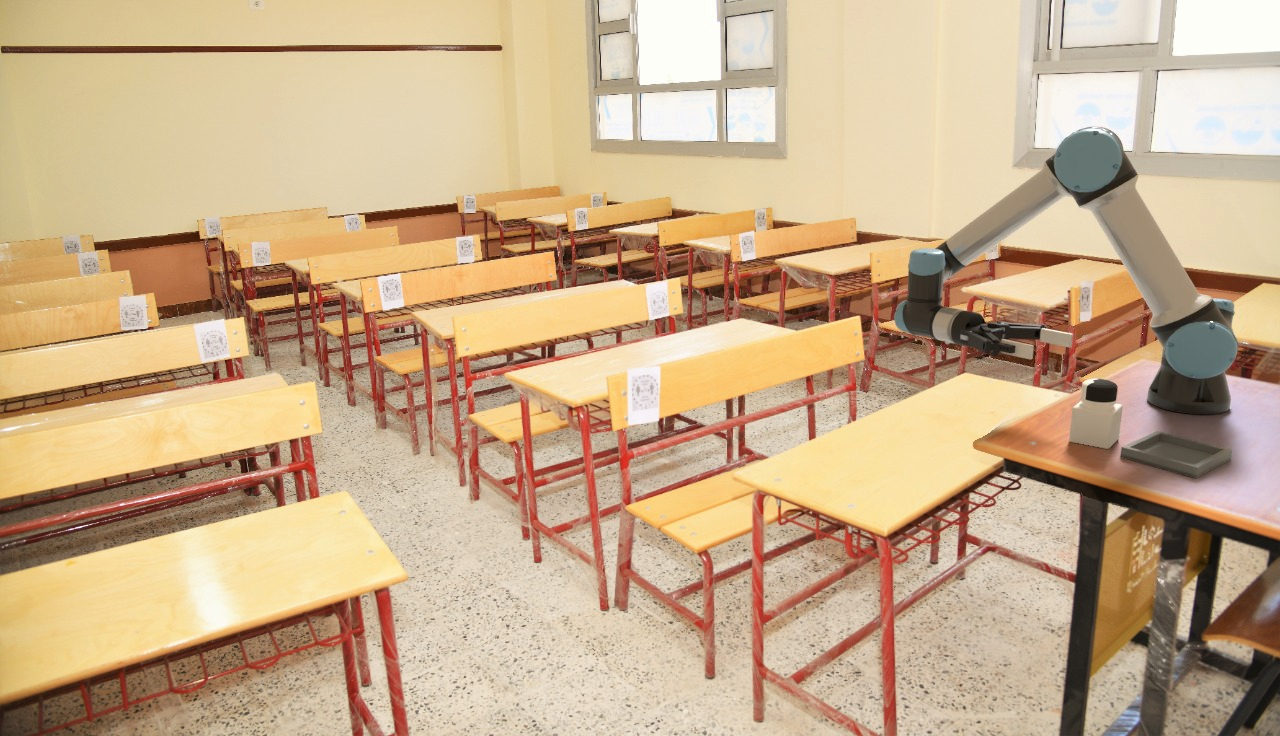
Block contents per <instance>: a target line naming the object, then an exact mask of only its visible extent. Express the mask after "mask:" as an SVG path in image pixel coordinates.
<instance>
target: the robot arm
mask: <svg viewBox="0 0 1280 736" xmlns="http://www.w3.org/2000/svg"><path fill="white" fill-rule="evenodd" d="M1138 178H1139V173H1138V172H1137V170H1136V168H1135V166H1133V164H1132V162H1131V160H1130V159H1129V157H1128V155H1127V153H1126V152H1125V151H1124V145H1123V143H1122V140H1121V139H1120V137H1119V136H1118V135H1117V133H1115V132H1114V131H1112V130H1110V129H1108V128H1106V127H1103V126H1087V127H1085V128H1080V129H1078V130H1076V131H1074V132H1072V133H1070V134H1069V135H1068V136H1066V137H1064V139H1063V140H1062V141H1061V143H1060V144H1058V146H1057V148H1056V151H1055V153H1053V155H1052V156H1051V157H1049V158H1048V159H1046V160H1045V161H1044V162H1043V168H1042V169H1040V170H1039V171H1038V172H1037V173H1035V174H1034V175H1033V176H1031V177H1030V178H1029V179H1027V180H1026V181H1024V182H1023V183H1022V184H1021V185H1019V186H1017V188H1014V190H1013V191H1011V192H1010V193H1008V194H1007V195H1006V196H1004V197H1003V198H1001V199H1000V200H999V201H997V202H996V203H995V204H993V205H992V206H991V207H989V208H987V209H986V211H984V212H983V213H981V214H980V215H979V216H977V217H976V218H975V219H973V220H972V221H970V222H969V223H968V224H966V225H965V226H964V227H961V229H959V230H958V231H957V232H955V233H954V234H953V235H951V236H950V237H949V238H947V239H946V240H945V241H943V242H942V243H941V244H940V245H938V246H937V247H935V248H918V249H917V248H916V249H913V250H912V251H911V252H910V254H909V260H908V265H907V268H908V269H907V270H908V274H907V277H908V278H907V294H906V295H907V296H906V299H905V300H902V301H901V302H900V303H899V304H898V305H897V307H896V311H895V312H894V317H893V318H894V320H893V321H894V323H895V326H896V328H897V329H899V331H901V332H904V333H907V334H910V335H912V336H915V337H921V338H922V337H923V338H927V339H932V340H937V341H942V342H944V343H945V344H946V345H950V344H956V345H959V346H963V347H967V348H974V349H976V350H977V351H980V352H981V353H984V354H987V355H988V354H991V355H992V357H999V354H1004V355H1009V356H1013V357H1017V358H1022V359H1025V360H1026V359H1027V360H1032V359H1033V358H1034V357H1033V356H1034V346H1035V344H1028V343H1025V342H1021V341H1020V342H1019V341H1015V340H1034V341H1035V340H1036V341H1037V340H1039V342H1040V343H1041V342H1042V343H1045V344H1051V345H1055V346H1059V347H1060V346H1061V347H1066V348H1073V347H1072V346H1073V340H1074V333H1070V332H1065V331H1060V330H1056V329H1055V330H1054V329H1049V328H1047V325H1046V323H1045V324H1044V323H1041V324H1030V323H1018V322H1007V321H1001V320H998V321H995V322H993V321H988V322H986V320H985V317H984V316H983V314H981V313H979V312H975V311H970V310H964V309H960V308H955V307H954V308H953V307H950V306H949V307H948V306H944V305H942V301H943V291H944V290H943V289H944V283H945V282H947V281H949V279H951V278H952V277H953V276H954V275H956V274H957V273H959V272H960V271H962V270H963V269H964V268H966V267H967V266H968V265H970V264H971V263H972V262H975V260H977V259H978V258H980V257H981V256H982V255H984V254H985V253H987V252H988V251H990V250H992V249H993V248H994V247H996V246H997V245H998V244H1000V243H1001V242H1002V241H1004V240H1006V239H1007V238H1008V237H1010V236H1011V235H1013V234H1014V233H1016V232H1017V231H1018V230H1019V229H1021V228H1022V227H1024V226H1026V224H1028V223H1029V222H1031V221H1032V220H1034V219H1035V218H1037V217H1038V216H1040V215H1041V214H1042V213H1043V212H1044V213H1045V211H1046V210H1048V209H1050V208H1051V207H1053V205H1055V204H1057V203H1058V202H1059V201H1061V200H1062V199H1064V198H1065V197H1069V198H1070V197H1071V198H1073V199H1074V201H1075V203H1076V204H1077V206H1078V208H1079V209H1084V210H1087V211H1090V212H1091V214H1093V216H1094V218H1095V219H1096V221H1097V223H1098V224H1099V227H1100V228H1101V230H1102V231H1103V233H1104V234H1105V236H1106V238H1107V239H1108V241H1109V243H1110V244H1111V246H1112V248H1113V250H1114V251H1115V253H1116V255H1117V256H1118V258H1119V260H1120V261H1121V263H1122V264H1123V266H1124V268H1125V269H1126V271H1127V274H1129V277H1130V278H1131V279H1132V281H1133V283H1134V284H1135V286H1136V288H1137V290H1138V291H1139V293H1140V295H1141V296H1142V298H1143V299H1144V302H1145V303H1146V305H1147V307H1148V308H1149V309H1150V310H1149V311H1151V313H1152V317H1151V320H1150V321H1149V322H1150V323H1149V326H1150V327H1151V329H1152V331H1153V334H1155V337H1156V338H1157V340H1158V342H1159V343H1160V345H1161V346H1162V353H1161V362H1160V365H1159V368H1158V370H1157V372H1156V374H1155V376H1154V378H1153V380H1152V382H1151V383H1150V386H1149V387H1148V391H1147V396H1146V397H1147V398H1146V400H1147V402H1149V403H1150V404H1152V405H1153V406H1155V407H1158V408H1161V409H1163V410H1167V411H1172V412H1177V413H1181V414H1182V413H1183V414H1191V415H1216V414H1217V415H1218V414H1222V413H1225V412H1226V413H1227V412H1228V411H1229V410H1230V409H1231V401H1232V398H1231V397H1232V396H1231V392H1230V389H1229V384H1228V380H1227V375H1226V371H1227V370H1228V369H1229V368H1230V367H1231V366H1232V365H1233V363H1234V361H1235V360H1236V357H1237V355H1238V349H1239V341H1238V339H1237V337H1236V335H1235V333H1234V329H1233V326H1232V325H1233V319H1234V315H1235V314H1236V311H1235V304H1234V302H1233V301H1232V300H1229V299H1225V298H1213V297H1212V296H1211V295H1207V294H1202V293H1200V292H1199V291H1198V289H1197V288H1196V286H1195V284H1194V283H1193V281H1192V279H1191V278H1190V277H1189V274H1188V273H1187V271H1186V270H1185V267H1184V266H1183V265H1182V263H1181V261H1180V260H1179V258H1178V257H1177V254H1176V253H1175V251H1174V250H1173V248H1172V246H1171V244H1170V243H1169V241H1168V240H1167V238H1166V236H1165V235H1164V233H1163V231H1162V230H1161V228H1160V226H1159V225H1158V223H1157V221H1156V219H1155V218H1154V216H1153V214H1152V212H1151V211H1150V209H1149V208H1148V206H1147V205H1146V203H1145V201H1144V200H1143V198H1142V197H1141V195H1140V193H1139V192H1138V190H1137V188H1136V186H1137V182H1138ZM991 352H992V353H991Z"/></svg>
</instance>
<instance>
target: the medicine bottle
mask: <svg viewBox="0 0 1280 736" xmlns="http://www.w3.org/2000/svg"><path fill="white" fill-rule="evenodd" d="M1081 383H1082V384H1081V393H1080V401H1079V402H1077V403H1076V404H1075V405H1074V406H1072V409H1071V419H1070V428H1069V429H1070V430H1069V438H1068V441H1069V442H1070V443H1074V444H1078V443H1079V445H1083V444H1084V445H1083V446H1088V445H1089V447H1093V446H1094V447H1093V448H1098V447H1099V449H1104V450H1109V449H1110V448H1111V447H1112V446H1113V445H1114V444H1115V443H1116V442H1117V441H1118V440H1119V438H1120V431H1121V422H1122V415H1123V405H1122V404H1121V403H1117V398H1118V388H1119V386H1118V384H1117V383H1115V382H1113V381H1111V380H1108V379H1105V378H1090V379H1087V380H1086V379H1085V380H1084V381H1083V382H1081Z"/></svg>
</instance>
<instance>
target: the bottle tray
mask: <svg viewBox="0 0 1280 736" xmlns="http://www.w3.org/2000/svg"><path fill="white" fill-rule="evenodd" d="M1232 454H1233V449H1230V448H1226V447H1223V446H1220V445H1215V444H1210V443H1207V442H1202V441H1199V440H1195V439H1192V438H1188V437H1187V438H1186V437H1184V436H1180V435H1174V434H1171V433H1167V432H1164V431H1159V430H1156V431H1154V432H1151V433H1150V434H1148V435H1145V436H1143V437H1141V438H1138V439H1136V440H1134V441H1132V442H1130V443H1128V444H1125V445H1123V446H1121V449H1120V456H1119V457H1120V458H1122V457H1123V458H1122V459H1125V458H1126V460H1130V461H1133V462H1137V463H1140V464H1143V465H1146V464H1147V466H1151V467H1154V468H1158V469H1160V470H1164V469H1165V471H1168V472H1172V473H1176V474H1178V475H1182V476H1185V477H1189V478H1193V479H1198V478H1200V477H1202V476H1203V475H1205V474H1208V473H1209V472H1210V471H1212V470H1215V469H1217V468H1218V467H1220V466H1223V465H1224V464H1226V463H1228V462H1230V461H1231V460H1232Z"/></svg>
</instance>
